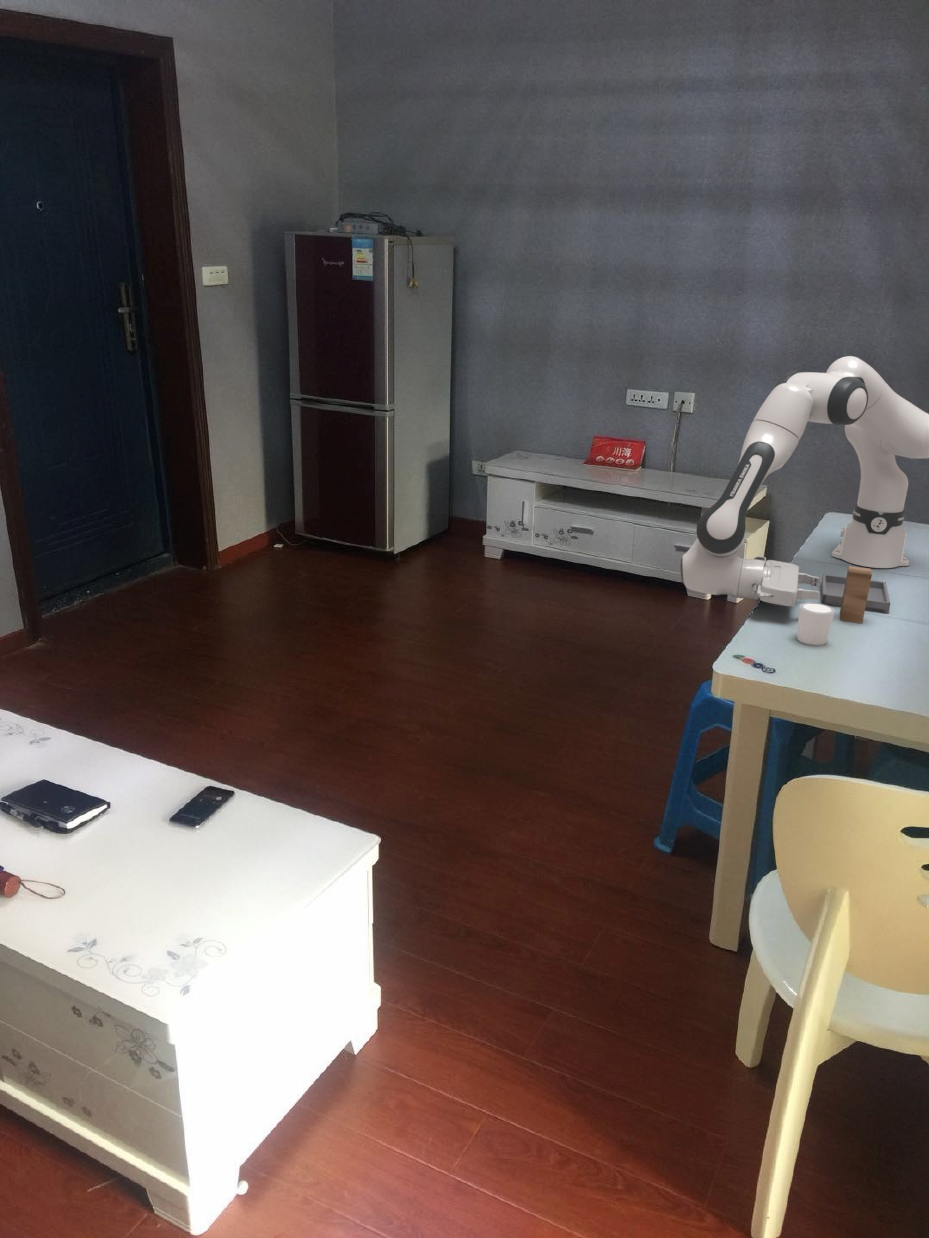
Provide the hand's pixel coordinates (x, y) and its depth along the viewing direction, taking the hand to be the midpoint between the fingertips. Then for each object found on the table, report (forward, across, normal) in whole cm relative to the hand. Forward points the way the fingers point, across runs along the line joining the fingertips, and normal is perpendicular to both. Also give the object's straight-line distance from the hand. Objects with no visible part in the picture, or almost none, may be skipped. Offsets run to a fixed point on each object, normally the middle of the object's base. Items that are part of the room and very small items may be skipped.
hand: (819, 588), depth 209 cm
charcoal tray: (+8, +15, +6) cm, 18 cm away
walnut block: (+7, 0, +6) cm, 9 cm away
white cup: (-1, -17, +6) cm, 18 cm away
